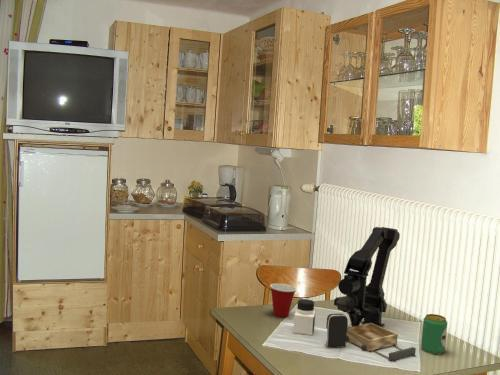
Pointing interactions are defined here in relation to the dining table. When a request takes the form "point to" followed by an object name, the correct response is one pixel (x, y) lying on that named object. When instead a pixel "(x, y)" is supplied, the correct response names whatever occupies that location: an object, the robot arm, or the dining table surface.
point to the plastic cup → (282, 298)
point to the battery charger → (336, 330)
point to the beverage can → (434, 334)
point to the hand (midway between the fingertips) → (354, 329)
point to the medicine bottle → (304, 317)
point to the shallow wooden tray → (371, 336)
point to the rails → (399, 353)
